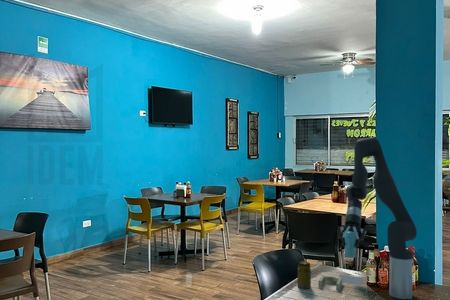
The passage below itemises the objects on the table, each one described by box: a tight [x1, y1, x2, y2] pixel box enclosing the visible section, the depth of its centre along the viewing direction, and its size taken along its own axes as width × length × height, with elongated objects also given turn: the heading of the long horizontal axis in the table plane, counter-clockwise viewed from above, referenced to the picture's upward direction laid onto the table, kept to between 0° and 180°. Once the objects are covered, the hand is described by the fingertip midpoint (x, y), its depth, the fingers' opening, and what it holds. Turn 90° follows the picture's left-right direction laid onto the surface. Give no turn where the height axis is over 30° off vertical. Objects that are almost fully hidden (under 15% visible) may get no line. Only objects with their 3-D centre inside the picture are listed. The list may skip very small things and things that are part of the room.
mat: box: [338, 274, 364, 286], centre depth 196 cm, size 11×11×1 cm
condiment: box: [297, 260, 312, 290], centre depth 185 cm, size 7×8×12 cm
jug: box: [344, 231, 357, 259], centre depth 195 cm, size 5×7×12 cm
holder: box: [317, 274, 344, 292], centre depth 187 cm, size 10×10×4 cm
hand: (349, 246), depth 194 cm, fingers closed on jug, 5 cm apart
